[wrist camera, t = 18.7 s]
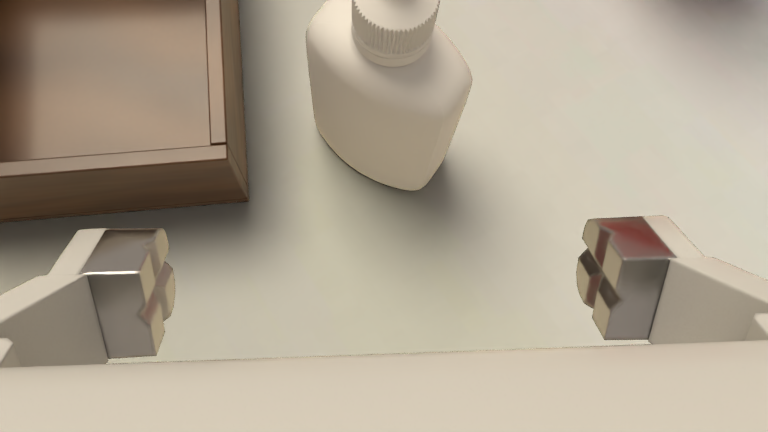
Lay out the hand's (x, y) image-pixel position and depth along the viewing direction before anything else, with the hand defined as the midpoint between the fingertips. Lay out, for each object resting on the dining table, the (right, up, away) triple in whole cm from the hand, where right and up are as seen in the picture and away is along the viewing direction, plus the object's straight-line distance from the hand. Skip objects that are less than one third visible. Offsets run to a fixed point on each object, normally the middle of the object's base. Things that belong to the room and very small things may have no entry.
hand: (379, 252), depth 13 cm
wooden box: (-12, +7, +15) cm, 20 cm away
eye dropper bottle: (0, +4, +15) cm, 16 cm away
